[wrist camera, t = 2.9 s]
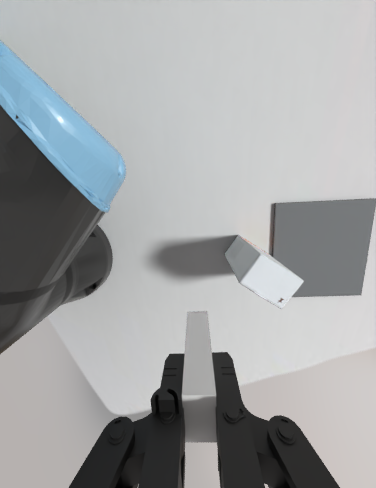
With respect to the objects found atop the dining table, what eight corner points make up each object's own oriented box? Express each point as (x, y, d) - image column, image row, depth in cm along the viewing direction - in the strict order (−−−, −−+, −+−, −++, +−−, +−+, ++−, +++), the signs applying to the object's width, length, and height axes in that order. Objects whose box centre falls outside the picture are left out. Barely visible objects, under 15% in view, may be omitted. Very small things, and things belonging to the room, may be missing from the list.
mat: (270, 296, 35) (271, 297, 35) (274, 203, 31) (276, 203, 31) (358, 293, 34) (361, 295, 34) (373, 198, 31) (376, 198, 30)
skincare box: (267, 252, 33) (306, 282, 22) (252, 272, 34) (281, 311, 23) (237, 233, 33) (261, 252, 21) (222, 254, 34) (237, 284, 22)
